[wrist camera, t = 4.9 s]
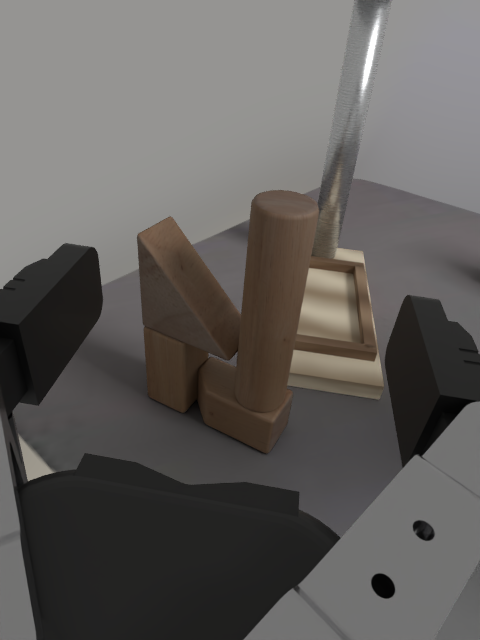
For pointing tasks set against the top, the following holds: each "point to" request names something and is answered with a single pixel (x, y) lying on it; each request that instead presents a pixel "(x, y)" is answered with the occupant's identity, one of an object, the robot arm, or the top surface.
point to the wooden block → (228, 320)
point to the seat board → (337, 330)
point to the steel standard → (349, 119)
